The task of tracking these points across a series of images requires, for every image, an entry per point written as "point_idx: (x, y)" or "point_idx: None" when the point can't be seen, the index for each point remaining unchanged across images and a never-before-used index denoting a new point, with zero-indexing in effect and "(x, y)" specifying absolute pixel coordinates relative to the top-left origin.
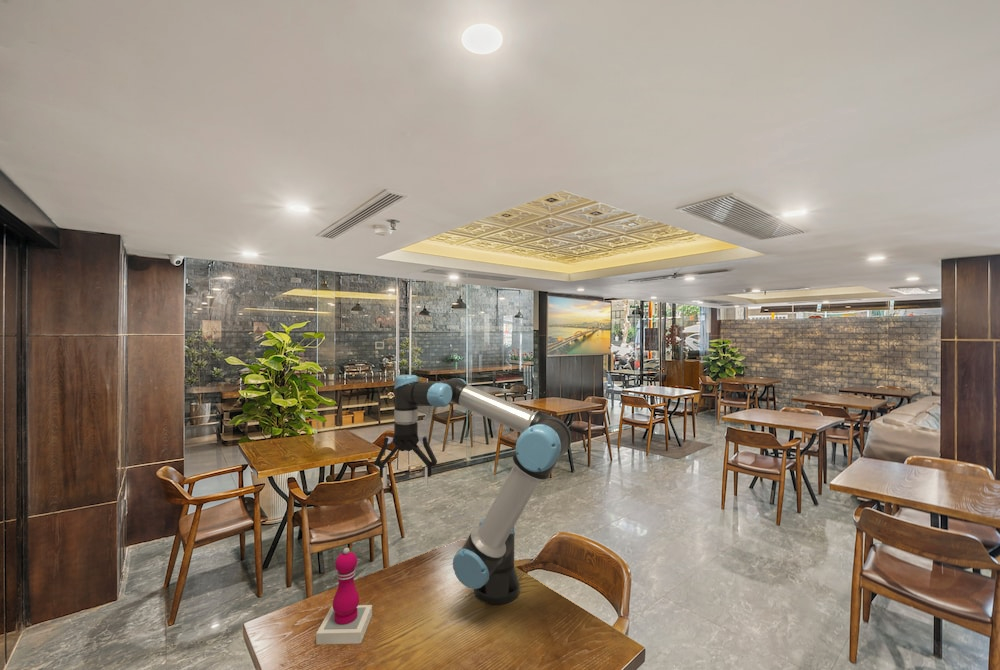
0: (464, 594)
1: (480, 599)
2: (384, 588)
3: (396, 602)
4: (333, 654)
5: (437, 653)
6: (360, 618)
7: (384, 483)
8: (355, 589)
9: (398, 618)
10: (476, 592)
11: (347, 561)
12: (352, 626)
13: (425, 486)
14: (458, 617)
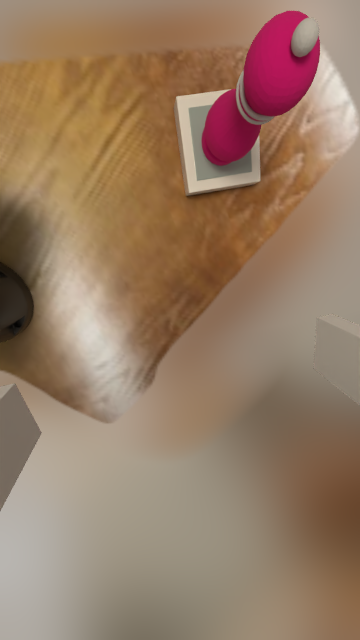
0: (44, 279)
1: (2, 264)
2: (193, 274)
3: (157, 238)
4: (209, 70)
5: (16, 88)
6: (193, 141)
7: (352, 330)
8: (221, 122)
9: (135, 191)
10: (10, 274)
11: (276, 16)
12: (198, 112)
13: (3, 391)
14: (25, 208)
